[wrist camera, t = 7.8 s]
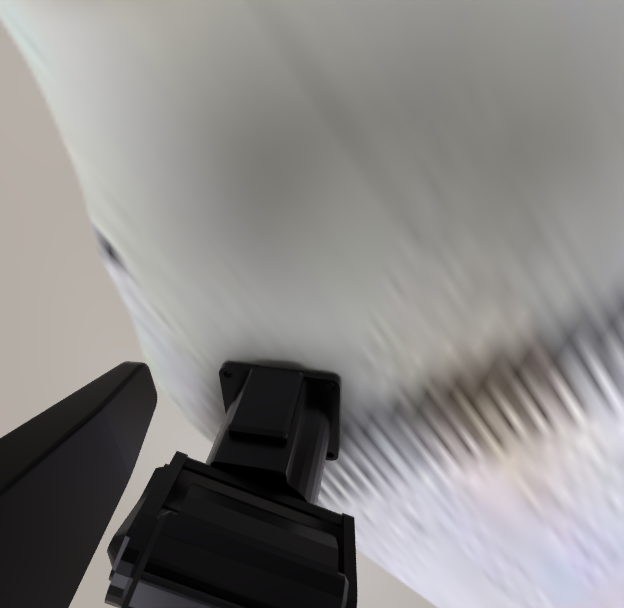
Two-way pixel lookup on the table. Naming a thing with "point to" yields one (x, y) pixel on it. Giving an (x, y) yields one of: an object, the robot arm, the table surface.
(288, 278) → the table surface
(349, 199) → the table surface
